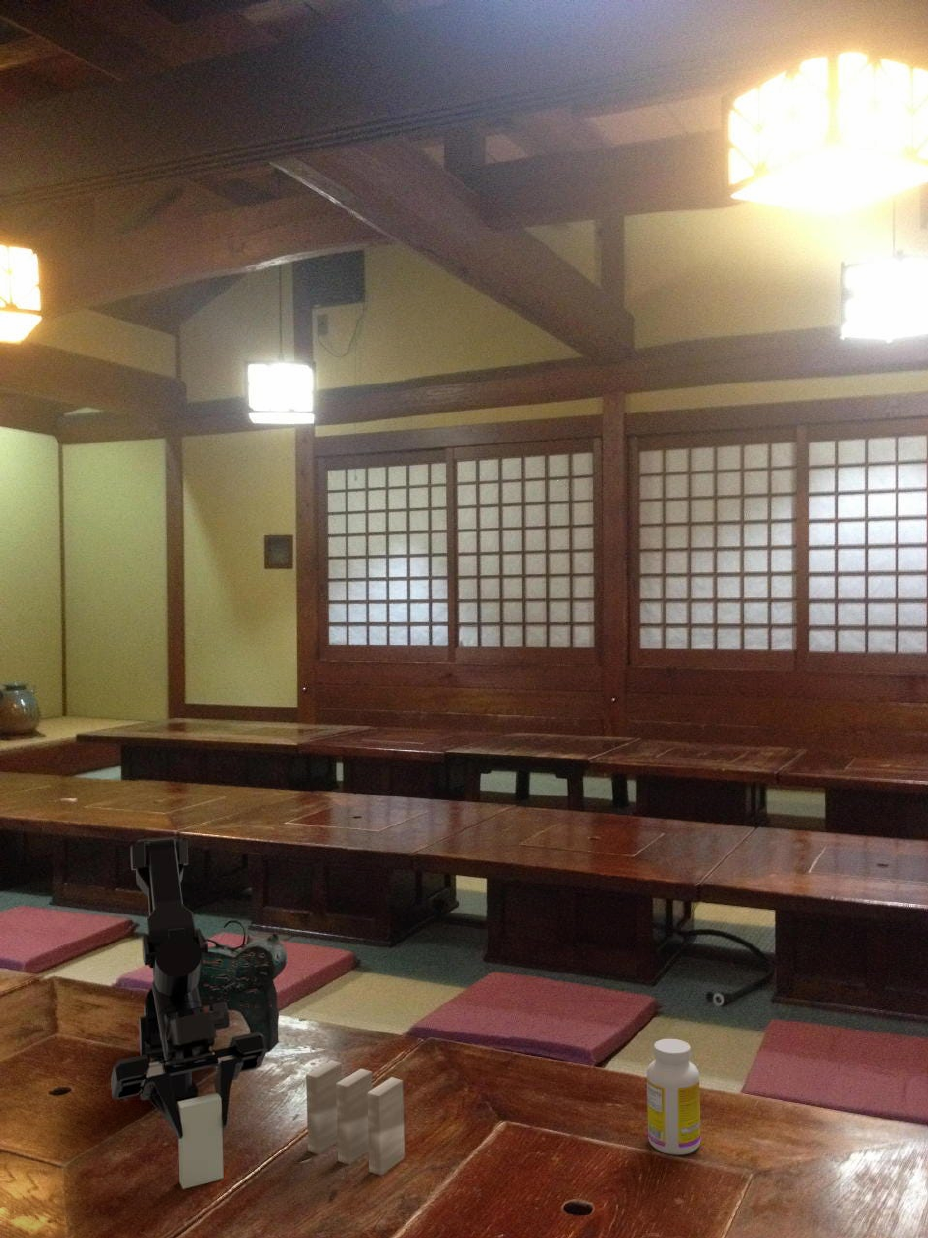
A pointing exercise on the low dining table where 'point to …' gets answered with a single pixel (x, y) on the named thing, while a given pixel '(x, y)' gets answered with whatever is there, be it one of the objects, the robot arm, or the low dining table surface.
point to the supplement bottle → (673, 1099)
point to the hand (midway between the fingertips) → (202, 1132)
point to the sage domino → (200, 1140)
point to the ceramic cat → (245, 981)
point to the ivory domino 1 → (322, 1106)
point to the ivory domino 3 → (386, 1126)
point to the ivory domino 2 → (353, 1115)
